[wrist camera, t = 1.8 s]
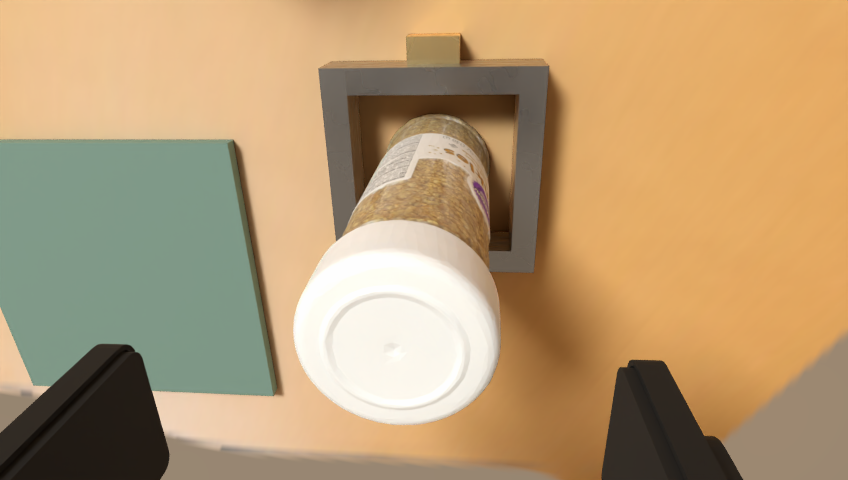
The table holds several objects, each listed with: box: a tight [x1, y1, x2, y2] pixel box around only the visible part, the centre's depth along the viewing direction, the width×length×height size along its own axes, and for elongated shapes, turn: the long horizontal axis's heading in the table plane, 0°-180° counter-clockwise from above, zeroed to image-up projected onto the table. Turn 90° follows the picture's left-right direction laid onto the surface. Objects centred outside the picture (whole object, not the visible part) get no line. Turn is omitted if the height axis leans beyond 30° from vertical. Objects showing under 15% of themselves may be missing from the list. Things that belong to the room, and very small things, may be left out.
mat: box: [0, 140, 277, 396], centre depth 27 cm, size 14×14×1 cm
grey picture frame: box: [318, 33, 549, 273], centre depth 23 cm, size 10×8×2 cm
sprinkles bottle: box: [293, 114, 501, 425], centre depth 17 cm, size 5×5×13 cm
